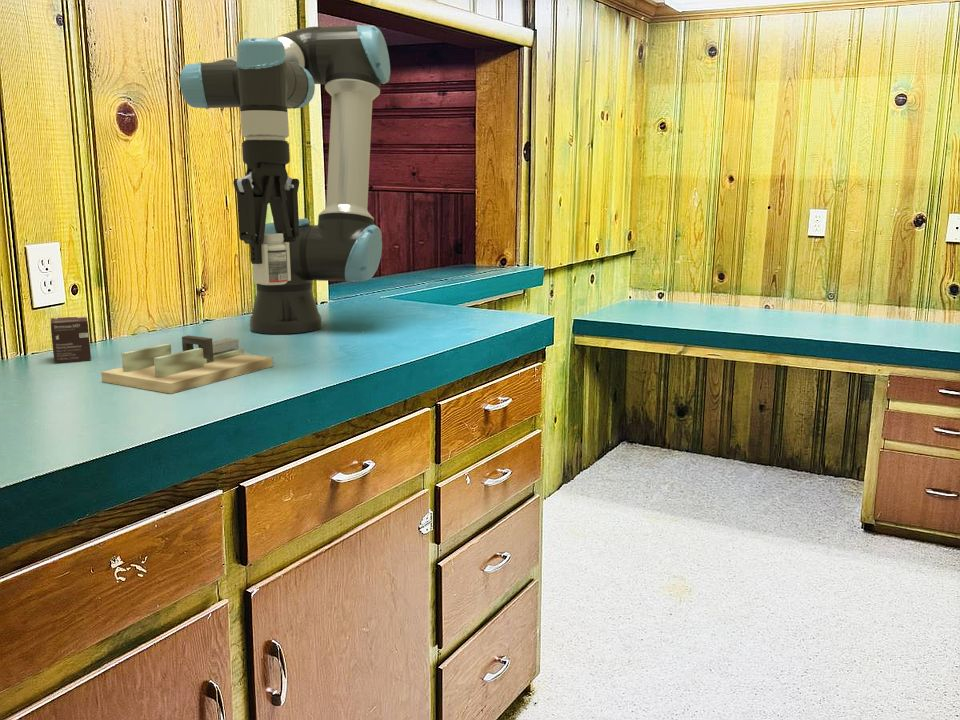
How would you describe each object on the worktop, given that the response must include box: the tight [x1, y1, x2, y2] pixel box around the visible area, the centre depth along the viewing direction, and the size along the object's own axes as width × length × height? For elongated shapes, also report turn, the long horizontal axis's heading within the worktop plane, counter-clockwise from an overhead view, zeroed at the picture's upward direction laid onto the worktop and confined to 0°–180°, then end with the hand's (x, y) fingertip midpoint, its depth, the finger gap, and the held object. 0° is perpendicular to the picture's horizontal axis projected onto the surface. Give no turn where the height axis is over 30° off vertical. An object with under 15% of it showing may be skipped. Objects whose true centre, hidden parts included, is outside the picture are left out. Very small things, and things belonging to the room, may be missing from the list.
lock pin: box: [197, 337, 240, 355], centre depth 149 cm, size 7×2×2 cm, turn 150°
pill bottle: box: [261, 233, 287, 285], centre depth 144 cm, size 5×5×8 cm
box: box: [50, 316, 92, 364], centre depth 154 cm, size 6×6×7 cm
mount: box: [100, 335, 274, 395], centre depth 142 cm, size 22×16×6 cm
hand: (272, 281), depth 144 cm, fingers closed on pill bottle, 5 cm apart
